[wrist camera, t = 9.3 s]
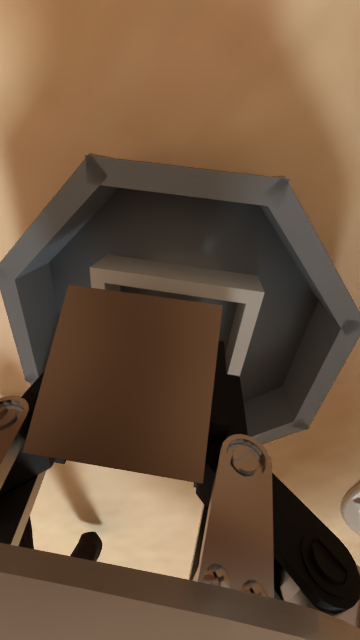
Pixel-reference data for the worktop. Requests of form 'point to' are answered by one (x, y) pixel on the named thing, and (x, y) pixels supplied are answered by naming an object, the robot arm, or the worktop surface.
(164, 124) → the worktop surface
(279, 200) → the gray octagonal container
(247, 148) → the worktop surface
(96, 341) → the brown rectangular block
